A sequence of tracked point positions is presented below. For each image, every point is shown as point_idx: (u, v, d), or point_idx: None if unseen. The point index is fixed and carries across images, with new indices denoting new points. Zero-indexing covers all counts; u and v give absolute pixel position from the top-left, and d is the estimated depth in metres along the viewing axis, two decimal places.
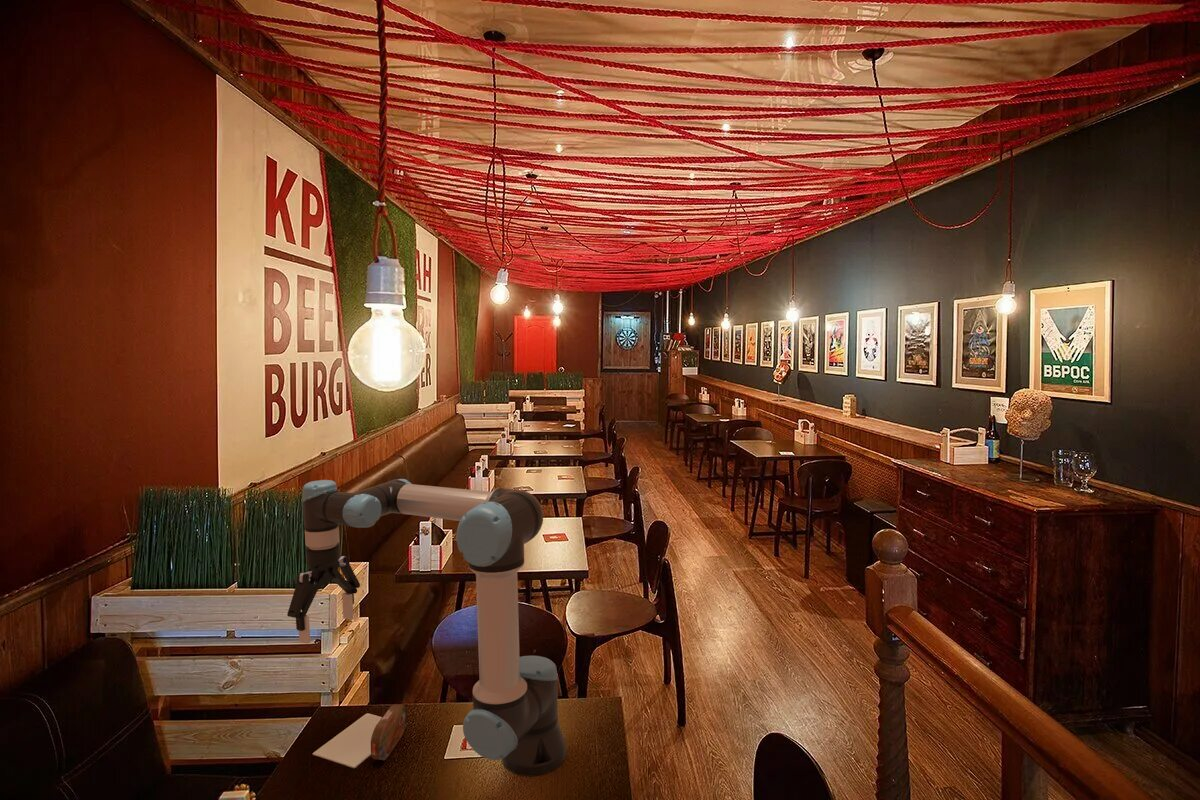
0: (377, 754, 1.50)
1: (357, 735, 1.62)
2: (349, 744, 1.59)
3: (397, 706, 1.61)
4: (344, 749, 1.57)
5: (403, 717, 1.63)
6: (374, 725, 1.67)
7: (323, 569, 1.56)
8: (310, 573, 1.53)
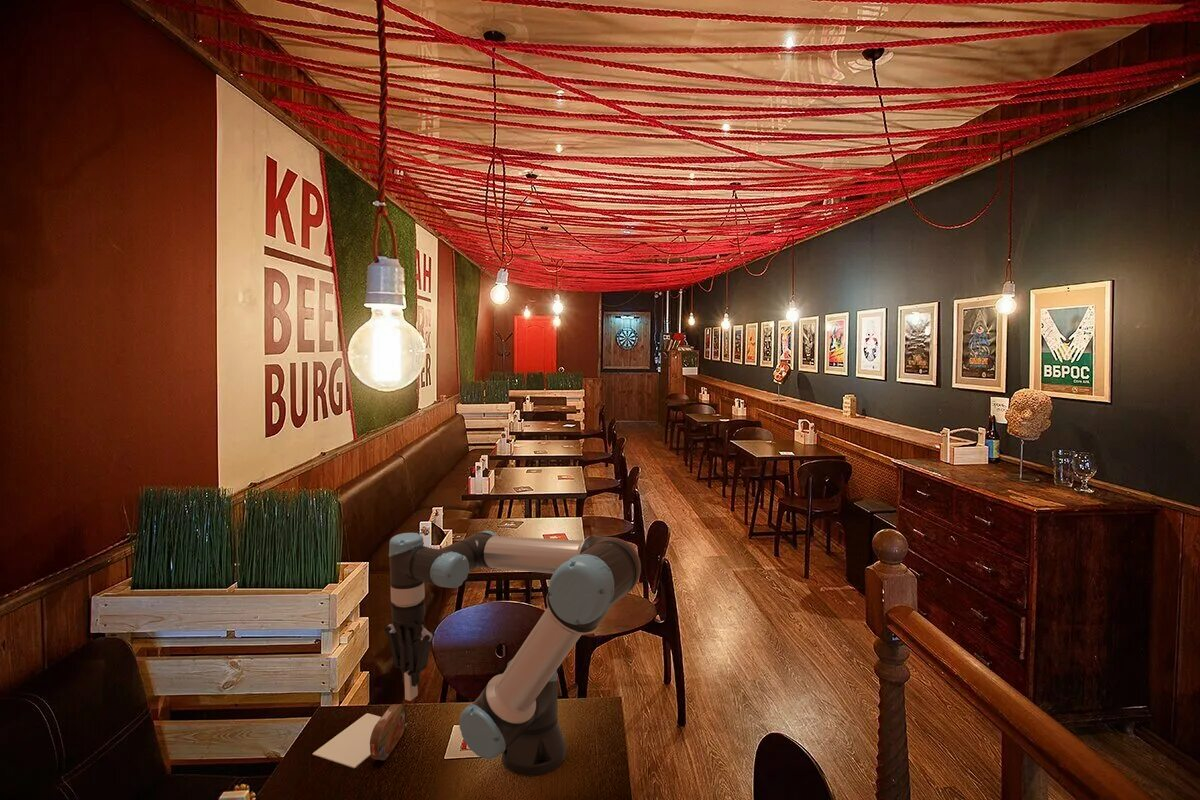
0: (376, 754, 1.50)
1: (357, 735, 1.62)
2: (349, 744, 1.59)
3: (396, 706, 1.61)
4: (344, 749, 1.57)
5: (402, 717, 1.63)
6: (374, 725, 1.67)
7: None
8: (392, 624, 1.53)
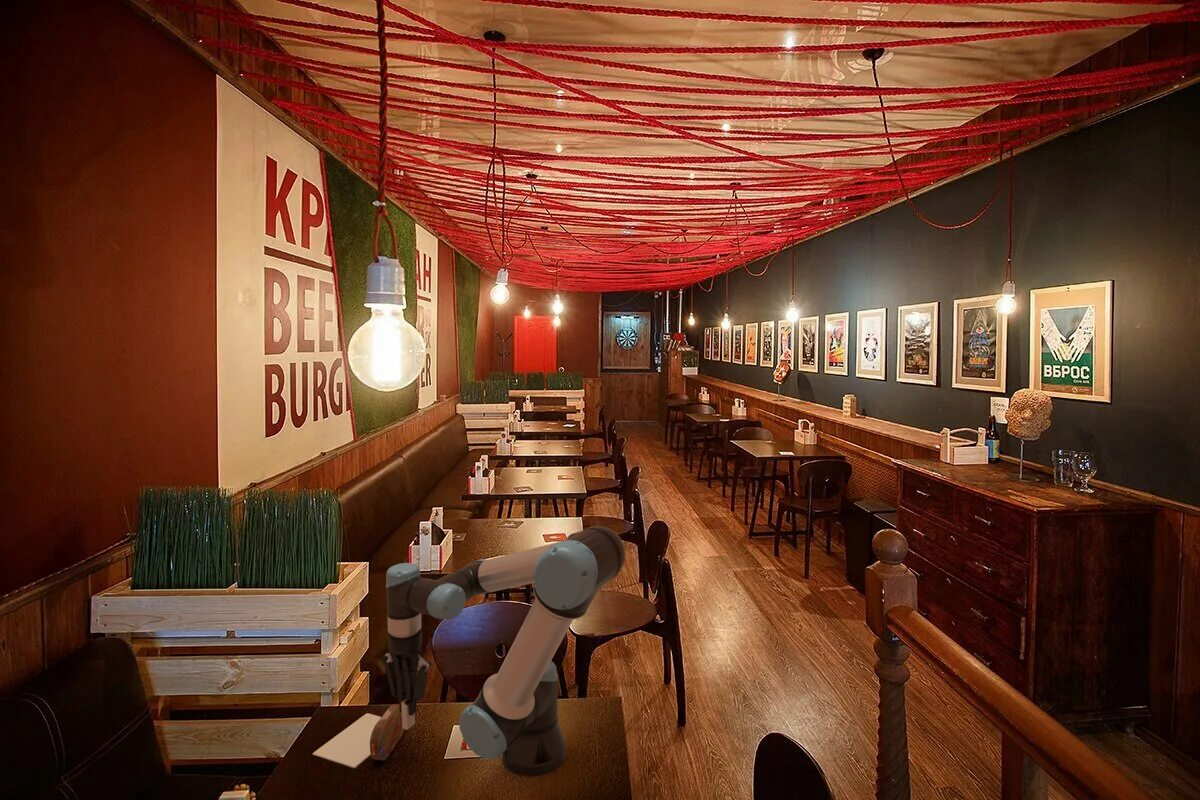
0: (376, 754, 1.50)
1: (357, 735, 1.62)
2: (349, 744, 1.59)
3: (396, 706, 1.61)
4: (344, 749, 1.57)
5: None
6: (374, 725, 1.67)
7: None
8: (389, 654, 1.54)
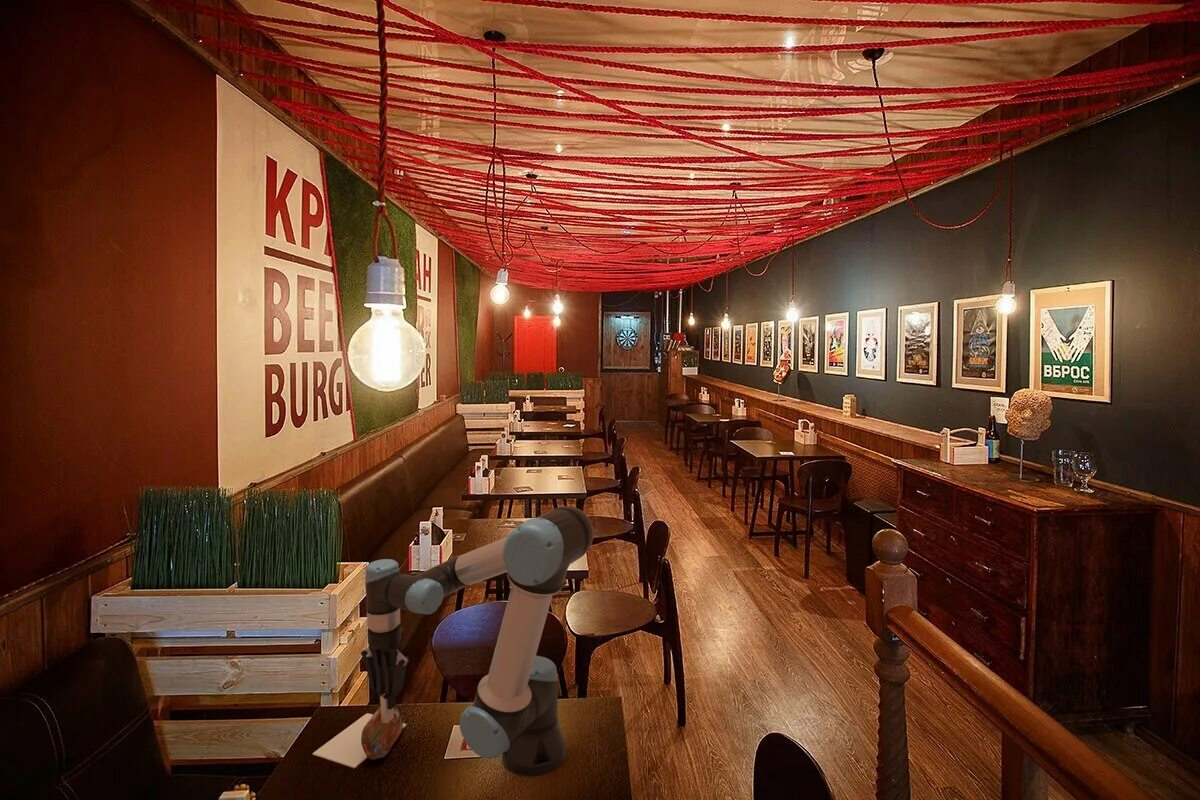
0: (371, 752, 1.50)
1: (357, 735, 1.62)
2: (349, 744, 1.59)
3: None
4: (344, 749, 1.57)
5: (396, 715, 1.63)
6: None
7: None
8: None
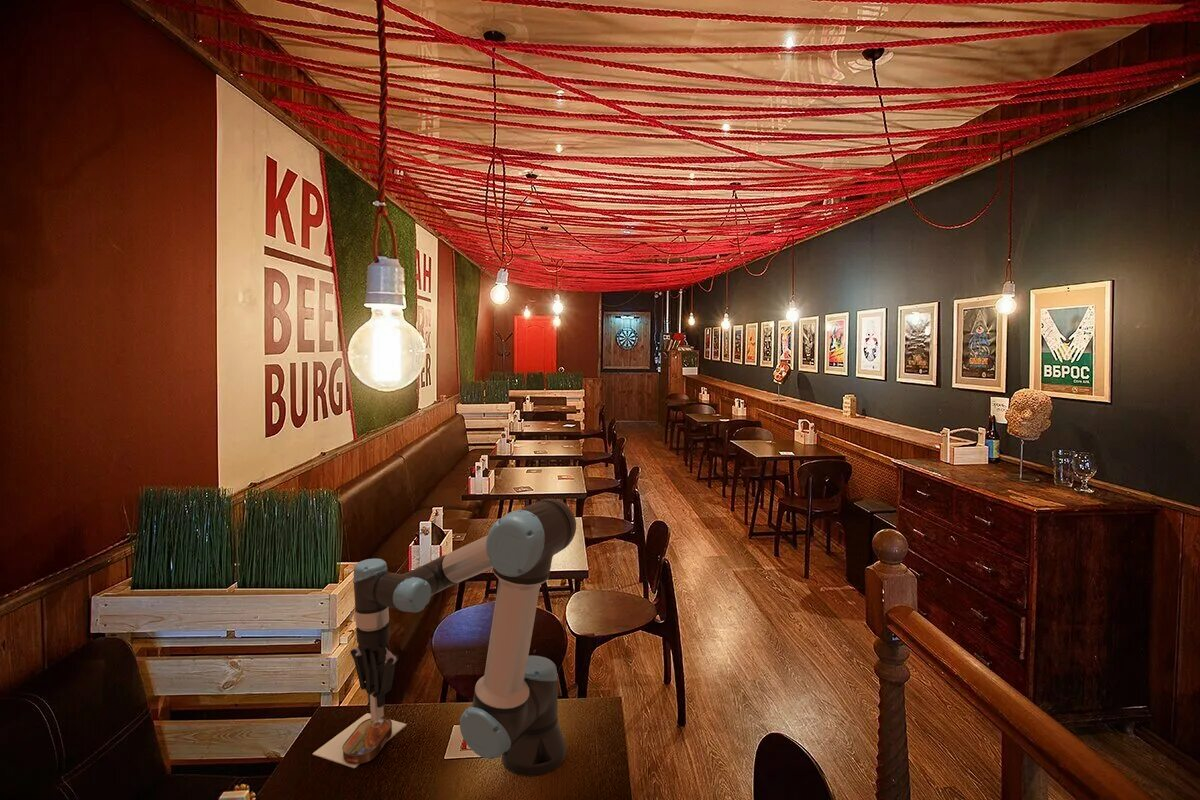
0: (356, 757, 1.51)
1: None
2: None
3: None
4: None
5: (379, 722, 1.64)
6: None
7: None
8: None
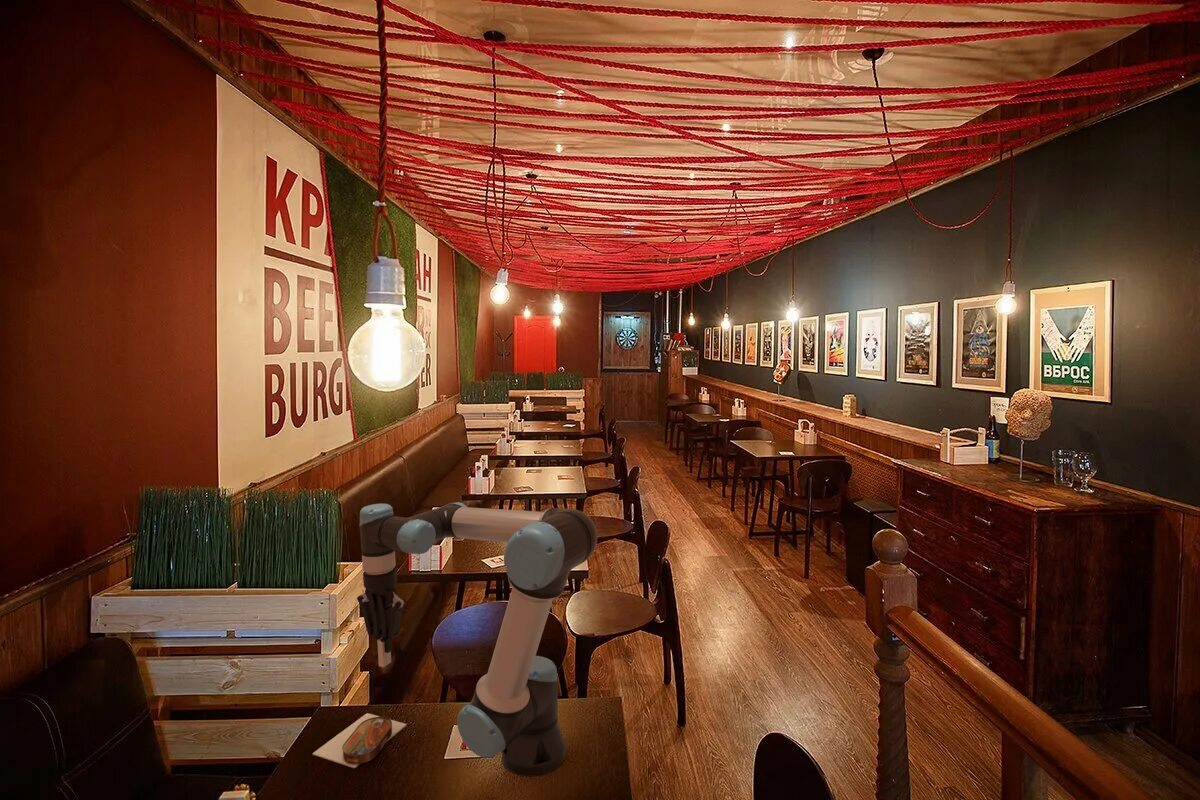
0: (356, 757, 1.51)
1: None
2: None
3: None
4: None
5: (379, 722, 1.64)
6: None
7: None
8: None
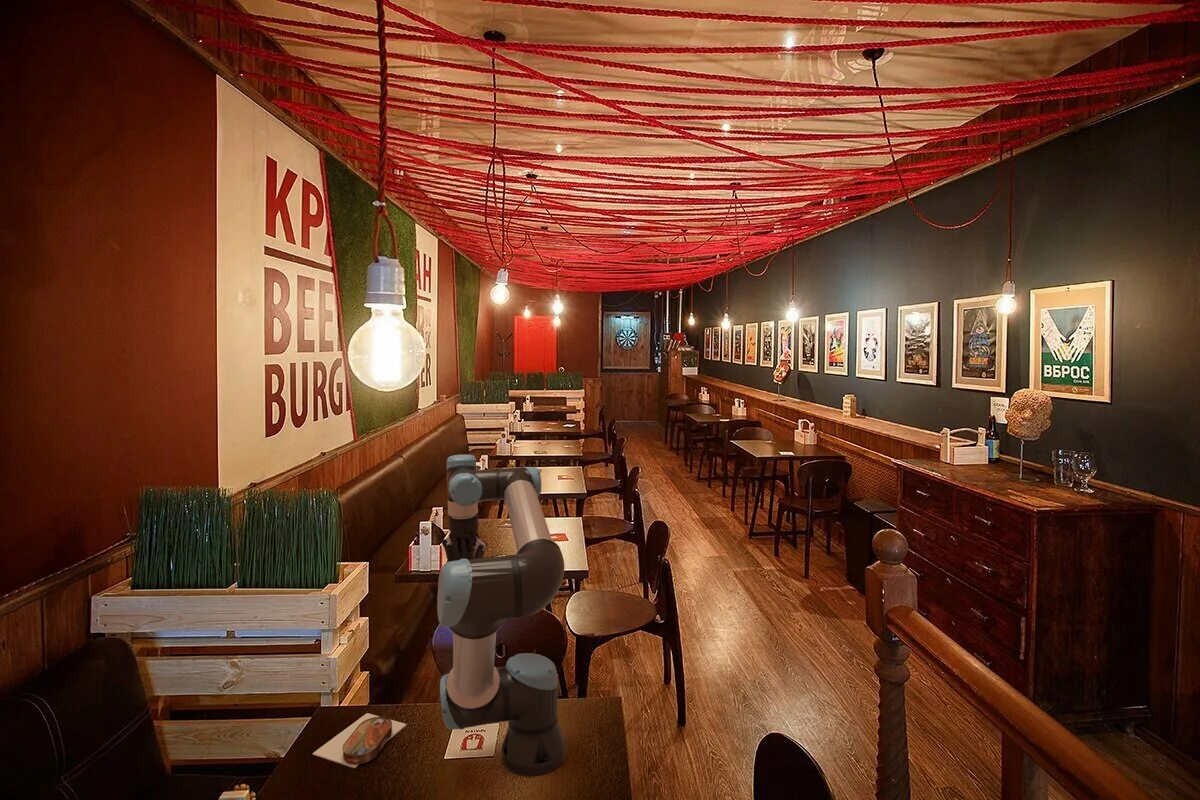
0: (356, 757, 1.51)
1: None
2: None
3: None
4: None
5: (379, 722, 1.64)
6: None
7: None
8: (449, 537, 1.70)
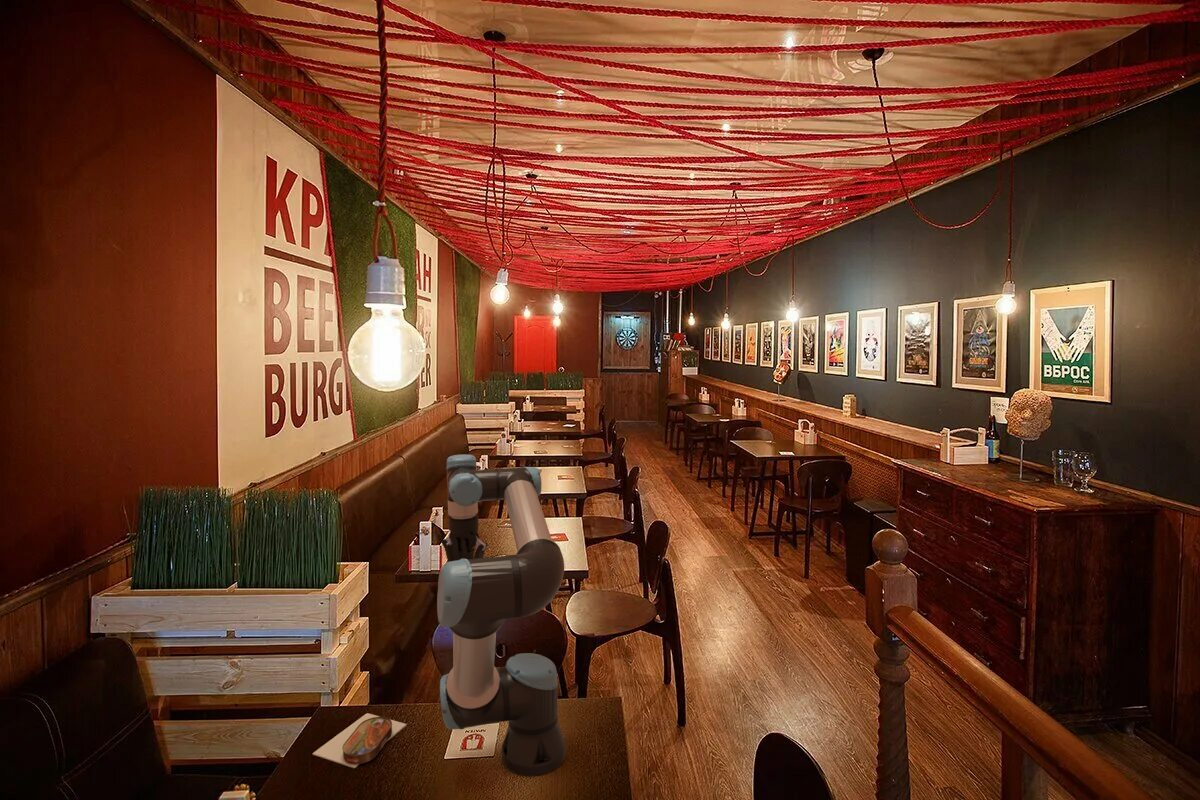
0: (356, 757, 1.51)
1: None
2: None
3: None
4: None
5: (379, 722, 1.64)
6: None
7: None
8: (449, 537, 1.70)
